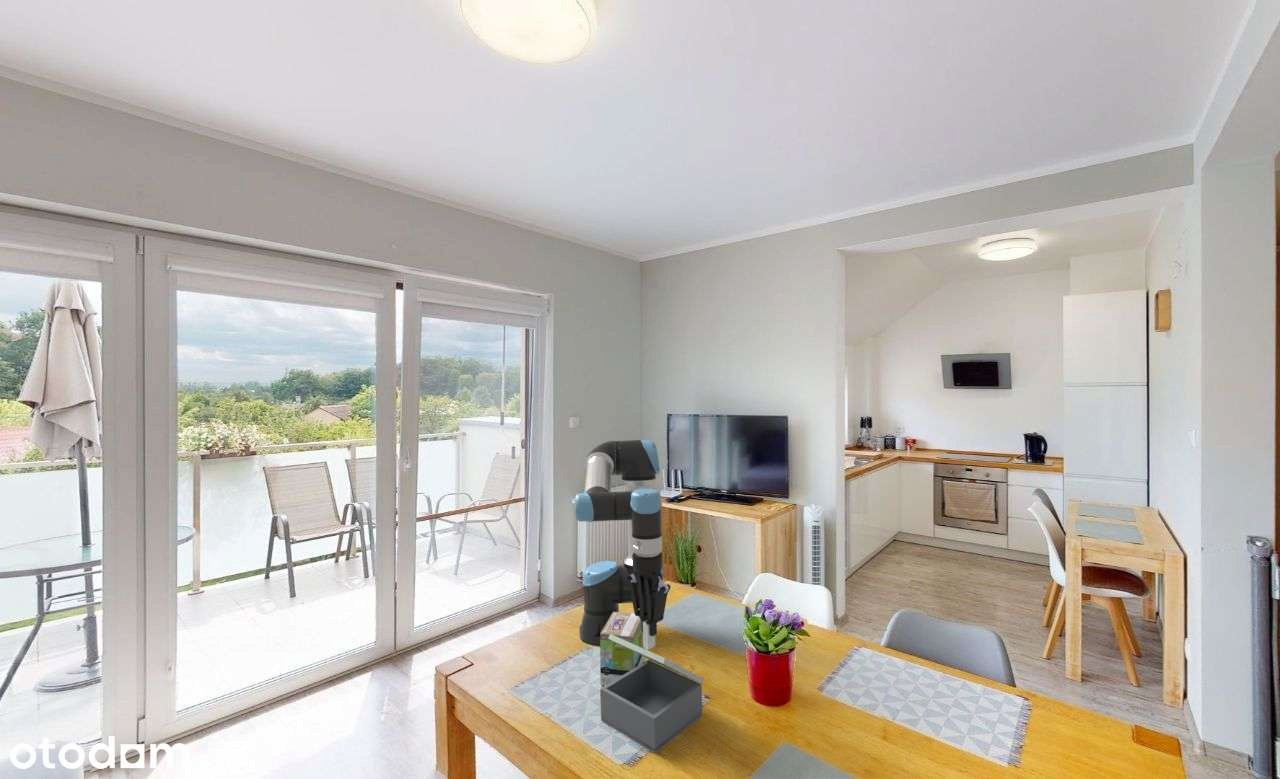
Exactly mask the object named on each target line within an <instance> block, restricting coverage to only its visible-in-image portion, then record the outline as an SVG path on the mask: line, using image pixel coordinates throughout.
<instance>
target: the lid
mask: <svg viewBox="0 0 1280 779" xmlns="http://www.w3.org/2000/svg"><path fill="white" fill-rule="evenodd" d="M608 639H610V640H612V641H614V642H616V643H618V644H620V645H622V646H624V647H626V648H628V649H630V650H632V651H634V652H636V653H638V654H639V655H641V656H643V657H644V659H645V658H646V659H647V660H650V661H652V662H654V663H657V664H659V665H661V666H663V667H665V668H668V669H670V670H672V671H674V672H676V673H678V674H681V675H683V676H685V677H687V678H689V679H691V680H694V681H696V682H698V683H700V684H703V682H704V678H703V677H701V676H700V675H698V674H696V673H694V672H693V671H691V670H688V669H686V668H684V667H682V666H681V665H679V664H677V663H675V662H673V661H672V660H669V659H668V658H666V657H664V656H661V655H659V654H656V653H654V652H652V651H649V650H647V649H645V648H644V649H643V648H641V647H639V646H636V645H634V644H632V643H630V642H627V641H625V640H623V639H621V638H618V637H616V636H614V635H612V634H610V635H609V638H608Z"/></svg>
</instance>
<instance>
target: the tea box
mask: <svg viewBox="0 0 1280 779" xmlns="http://www.w3.org/2000/svg"><path fill="white" fill-rule="evenodd" d="M610 634H612V635H614V636H616V637H618V638H621V639H623V640H625V641H627V642H630V643H632V644H634V645H636V646H639V647H641V648H643V633H642V630H641V620H640V617H639V616H635V613H634V612H620V611H619V612H613V613H612V615H611V616H610V618H609V620H608V622H607V623H606V625H605V627H604V628H603V630H602V632H601V633H600V645H599V646H600V649H599V650H600V652H599V656H600V658H599V662H600V664H599V665H600V666H599V668H600V670H599V671H600V676H599V677H600V678H599V679H600V682H599V684H600V685H601V686H605V685H607V684H609V683H611V682H612V681H614V680H616V679H617V678H619V677H621V676H622V675H624V674H626V673H627V672H629V671H631V670H632V669H634V668H636V667H637V666H639V665H641V664H642V663H644V662H645V657H643V656H641V655H639V654H638V653H636V652H634V651H632V650H630V649H628V648H626V647H624V646H622V645H620V644H618V643H616V642H614V641H612V640H610V639H608V638H609V635H610ZM643 649H645V648H643Z"/></svg>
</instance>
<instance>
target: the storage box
mask: <svg viewBox="0 0 1280 779" xmlns="http://www.w3.org/2000/svg"><path fill="white" fill-rule="evenodd" d="M702 684H703V683H700V682H697V681H695V680H693V679H691V678H689V677H687V676H684V675H682V674H680V673H678V672H676V671H673V670H671V669H669V668H667V667H665V666H663V665H660V664H658V663H656V662H654V661H652V660H649V659H647V660H646V661H644V662H643V663H642V664H641V665H639V666H637V667H636V668H634V669H632V670H631V671H629V672H627V673H626V674H624V675H622V676H621V677H619V678H617V679H616V680H614V681H612V682H611V683H609V684H607V685H606V686H605V685H603V687H602V686H601V687H600V690H599V691H600V698H599V699H600V721H601V722H603V723H605V724H606V725H608V726H609V727H611V728H612V727H613V729H614V730H616V731H618V732H619V733H621V734H622V735H623V736H625V737H627V738H629V739H630V740H632V741H633V742H635V743H636V744H639V745H640V746H641V747H643V748H645V749H646V748H647V750H648V751H649V752H651V753H652V754H657V753H658V752H659V751H660V750H662V749H663V748H664V747H666V745H668V744H670V742H672V741H673V740H675V738H676V737H678V736H679V735H680V734H681V733H682V732H684V731H685V730H686V729H688V728H689V727H690V726H691V725H693V724H694V723H695V722H697V721H698V720H699V719H700V718H701V717H703V694H702V693H703V692H702V690H703V688H702V686H703V685H702Z"/></svg>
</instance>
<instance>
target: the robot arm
mask: <svg viewBox="0 0 1280 779" xmlns="http://www.w3.org/2000/svg"><path fill="white" fill-rule="evenodd" d="M656 446H657V445H656V443H655V442H654V441H653V440H652V439H651V440H650V439H634V440H633V439H632V440H631V439H629V440H609V441H605V442H603V443H601V444H599V445H596V446H595V447H594V448H593V449H591V451H589V452H588V454H587V455H586V457H585V461H584V465H583V466H584V471H585V473H586V475H585V482H584V483H585V485H584V491H583V492H581V493H576V495H575V497H574V498H575V500H574V513H575V514H574V515H575V519H576V521H577V522H588V523H593V522H608V521H609V522H611V521H627V548H628V549H627V550H628V551H627V557H626V558H625V559H624V560H623V566H619V565H618V563H617V562H616V561H614V560H602V561H598V562H595V563H592V564H590V565H589V566H587V567H586V568H585V570H584V571H583V578H582V579H583V580H582V586H583V616H582V619H581V624H580V626H579V630H578V632H579V634H578V635H579V639H580V640H581V641H582V642H584V643H585V644H586V643H587V644H589V645H594V646H600V633H601V632H602V630H603V628H604V627H605V625H606V623H607V622H608V620H609V618H610V616H611V615H612V613H613V612H620V610H619V606H620V604H632V608H633V613H635V616H639V617H640V620H641V630H642V633H643V648H644V649H645V650H648V651H649V650H651V649H653V648H654V647H656V635H657V634H658V630H657V629H658V626H657V623H659V622H661V621H663V620H664V616H665V612H666V611H665V609H666V603H667V599H668V594H669V592H670V589H671V585H670V584H668V583H667V584H666V582H664V575H663V574H664V567H663V564H664V563H663V553H662V552H663V536H662V535H663V532H662V505H663V504H662V498H661V497H662V495H661V492H660V491H659V490H658V489H653V487H652V485H653V483H654V482H655V481H656V479H657V478H656V477H657V475H658V474H660V473H661V469H660V461H659V460H660V459H659V454H658V451H657V450H658V449H657V447H656ZM612 476H621V481H622V482H623V484H625V486H626V491H612V485H611V484H612V483H611V482H612V481H611V478H612Z"/></svg>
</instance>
